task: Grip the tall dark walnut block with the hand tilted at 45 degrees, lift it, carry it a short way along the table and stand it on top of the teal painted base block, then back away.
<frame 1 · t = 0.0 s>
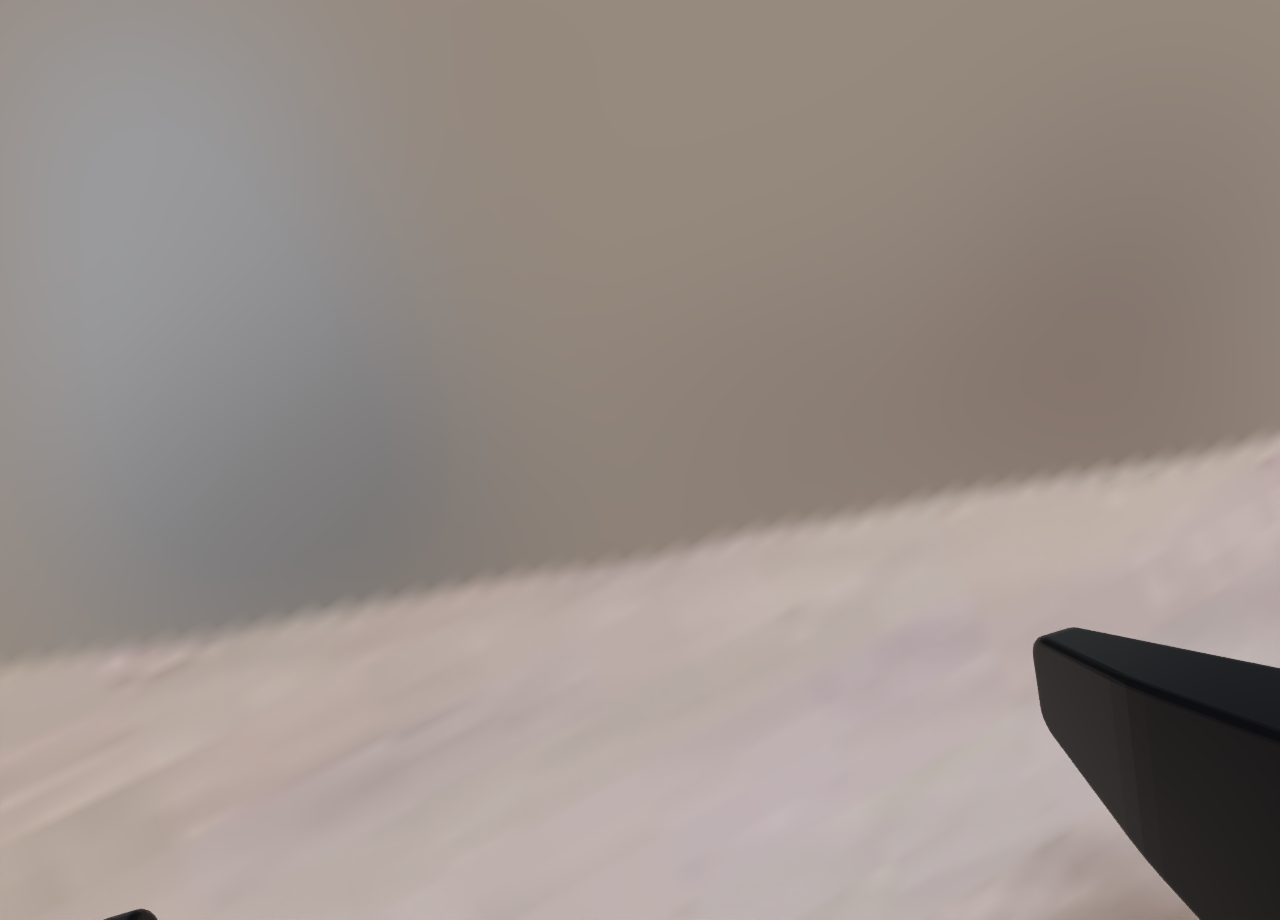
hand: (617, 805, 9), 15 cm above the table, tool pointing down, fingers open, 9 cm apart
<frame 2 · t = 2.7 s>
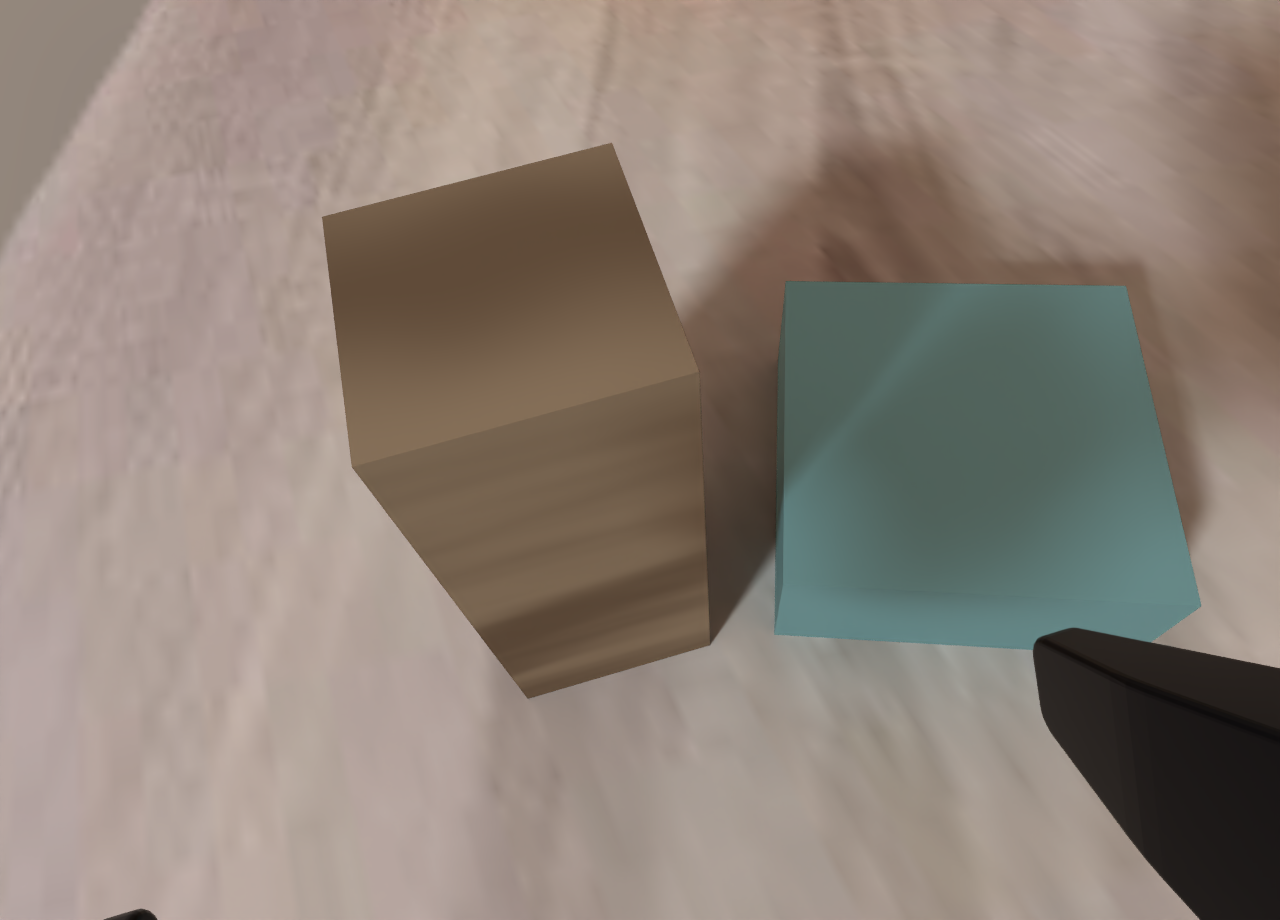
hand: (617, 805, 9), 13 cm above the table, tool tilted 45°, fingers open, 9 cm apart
walnut block: (597, 586, 24), on the table
teal base block: (933, 496, 25), on the table
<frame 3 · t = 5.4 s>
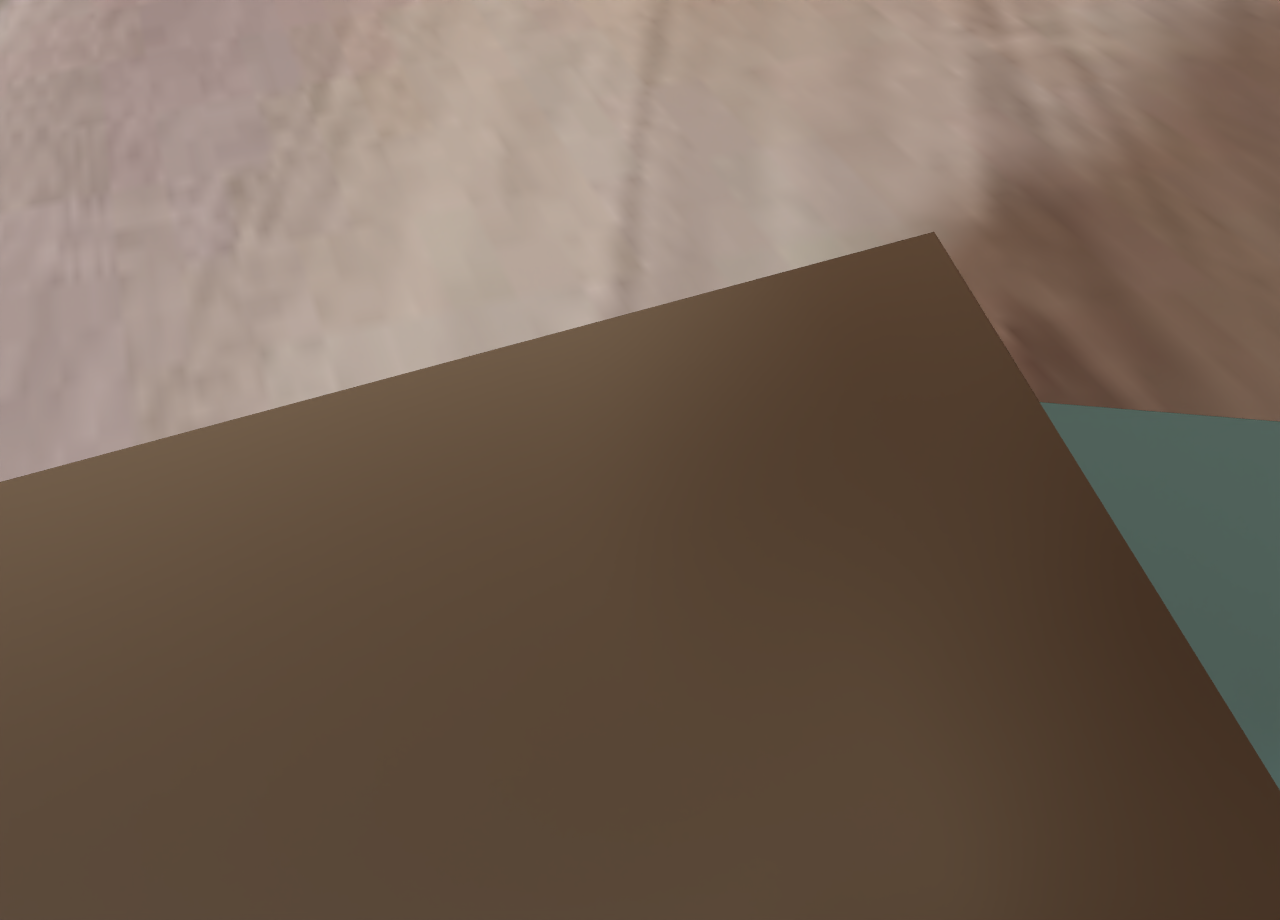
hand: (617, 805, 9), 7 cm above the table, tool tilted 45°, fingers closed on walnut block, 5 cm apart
teal base block: (1260, 781, 14), on the table
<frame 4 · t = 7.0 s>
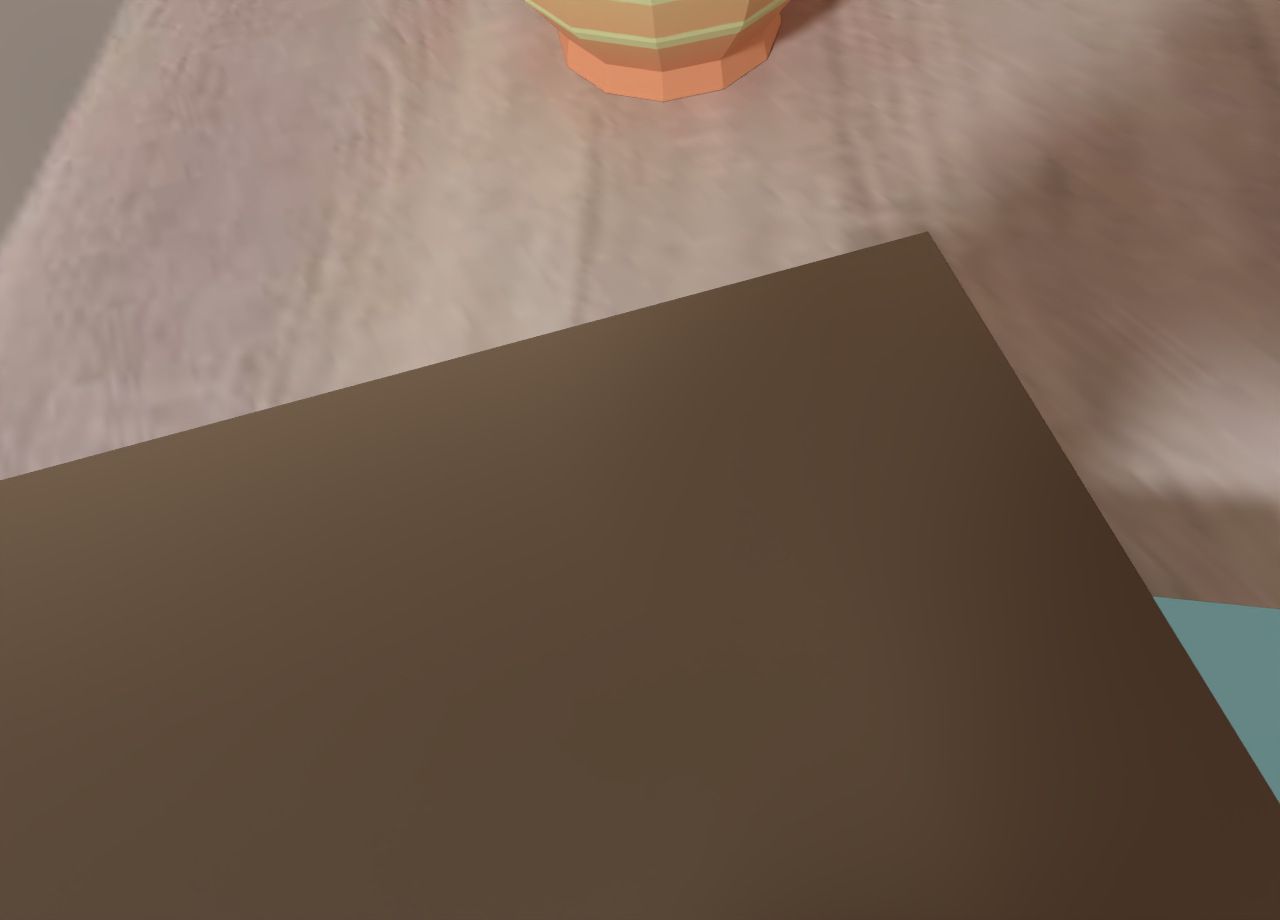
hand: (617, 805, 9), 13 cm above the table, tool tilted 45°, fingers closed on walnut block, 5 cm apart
potted cactus: (668, 30, 35), on the table
teal base block: (1037, 834, 20), on the table
when the fingers open (12 cm above the table, at t = 8.4 s): walnut block drops 1 cm, point 4 cm above the table.
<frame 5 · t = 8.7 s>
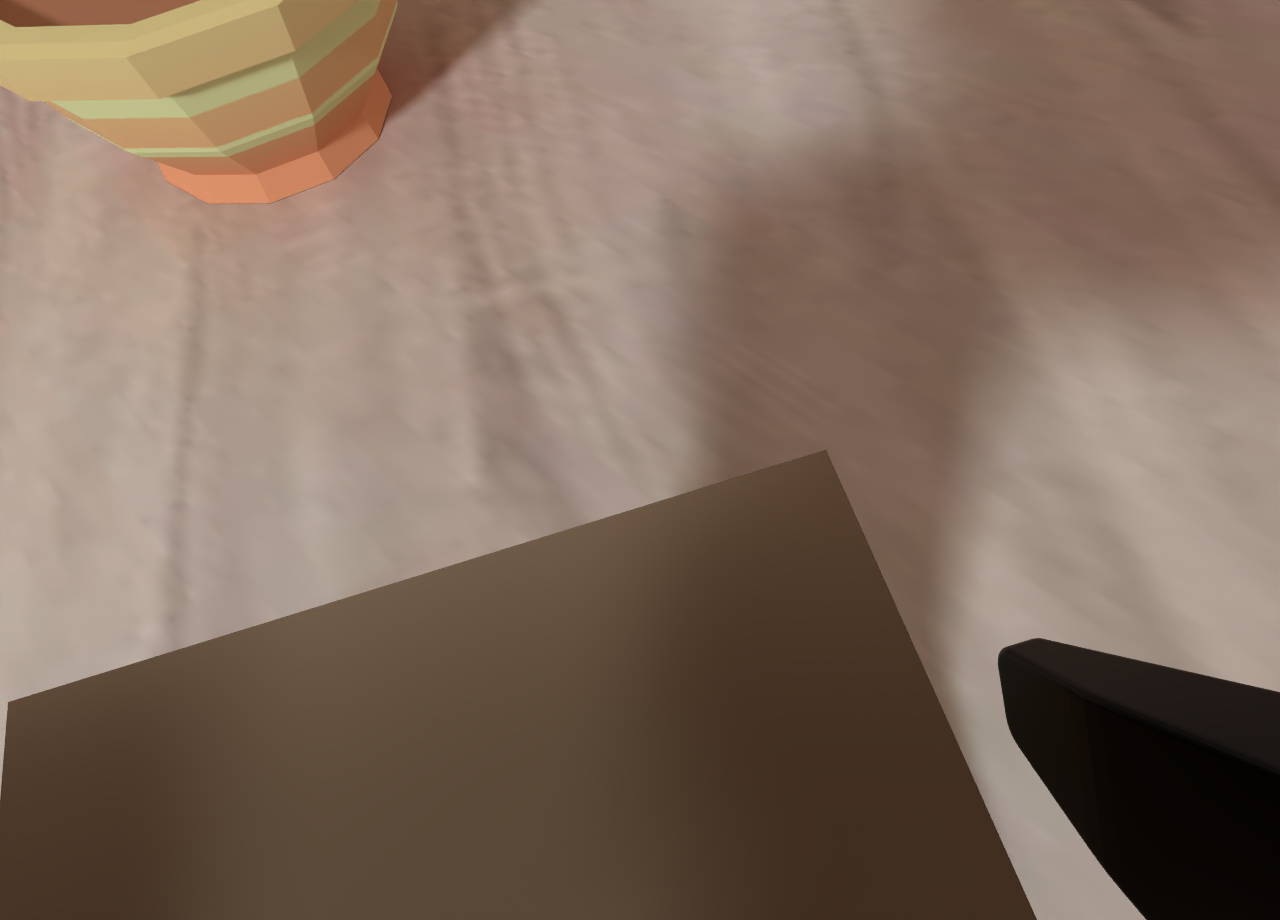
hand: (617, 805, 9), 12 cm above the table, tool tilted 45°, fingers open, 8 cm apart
potted cactus: (276, 123, 33), on the table
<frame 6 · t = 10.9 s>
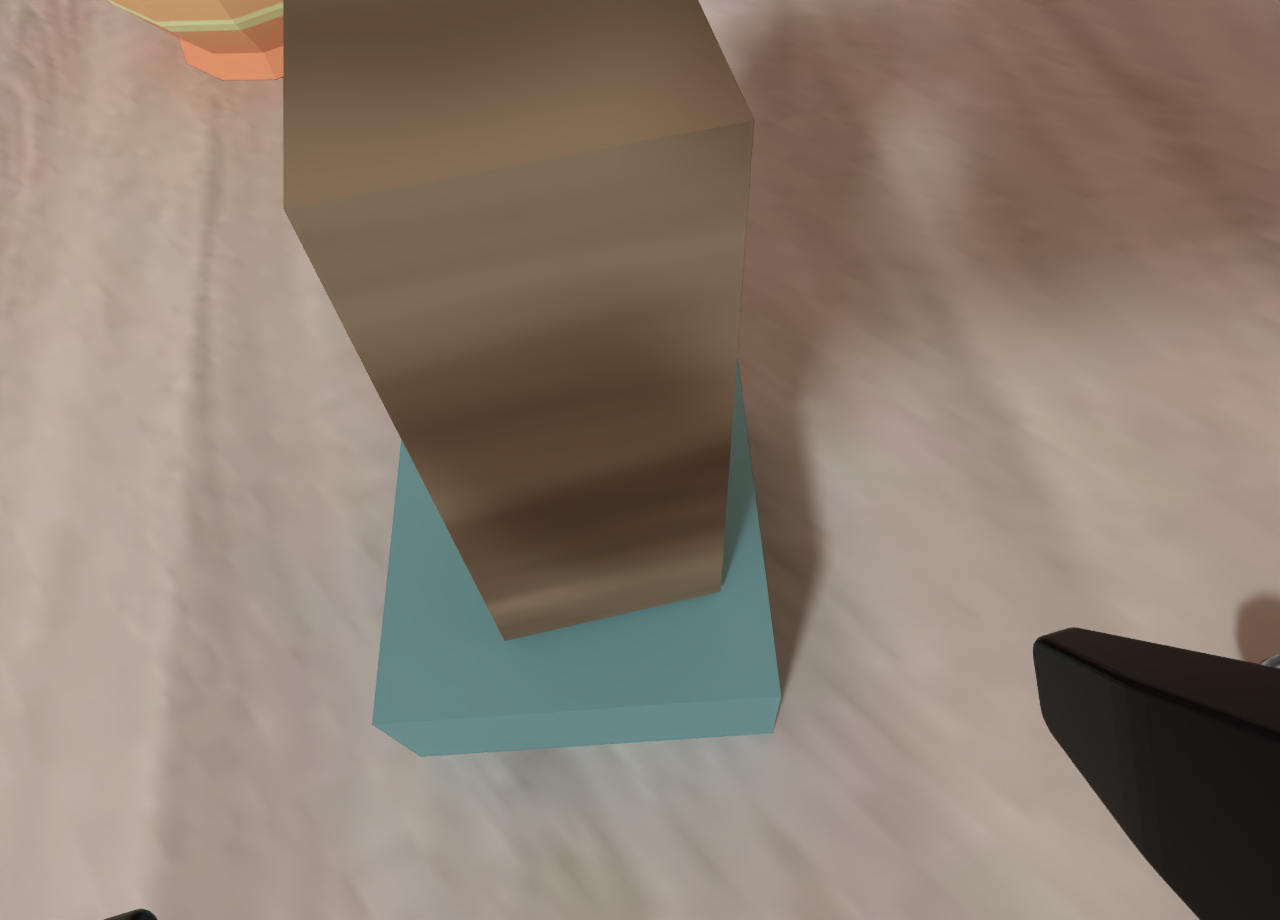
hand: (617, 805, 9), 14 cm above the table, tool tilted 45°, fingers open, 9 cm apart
potted cactus: (280, 19, 39), on the table
walnut block: (592, 521, 21), point 4 cm above the table, touching teal base block
teal base block: (593, 584, 25), on the table, touching walnut block
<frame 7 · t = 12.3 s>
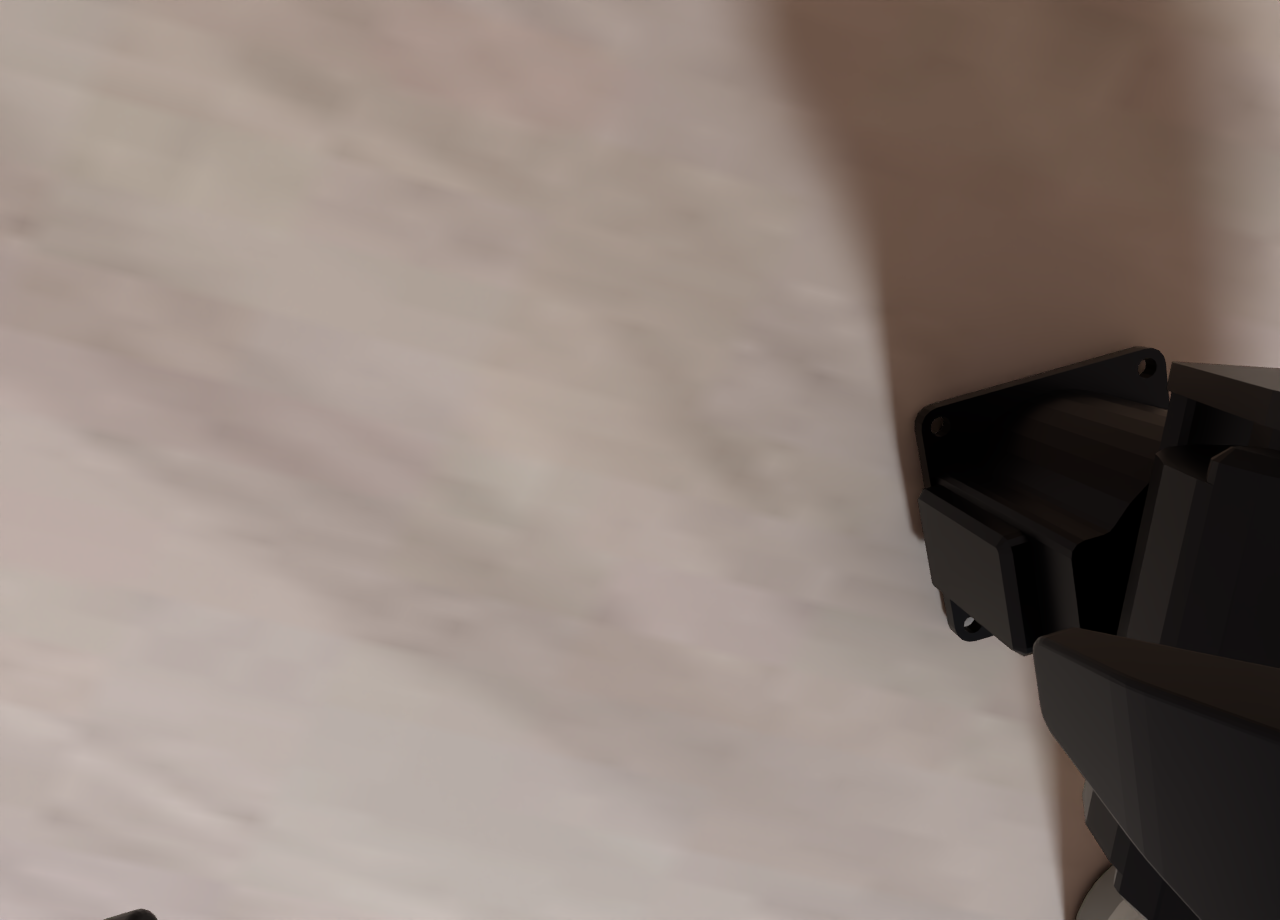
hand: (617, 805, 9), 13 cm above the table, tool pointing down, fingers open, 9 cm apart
travel mug: (1159, 917, 27), on the table
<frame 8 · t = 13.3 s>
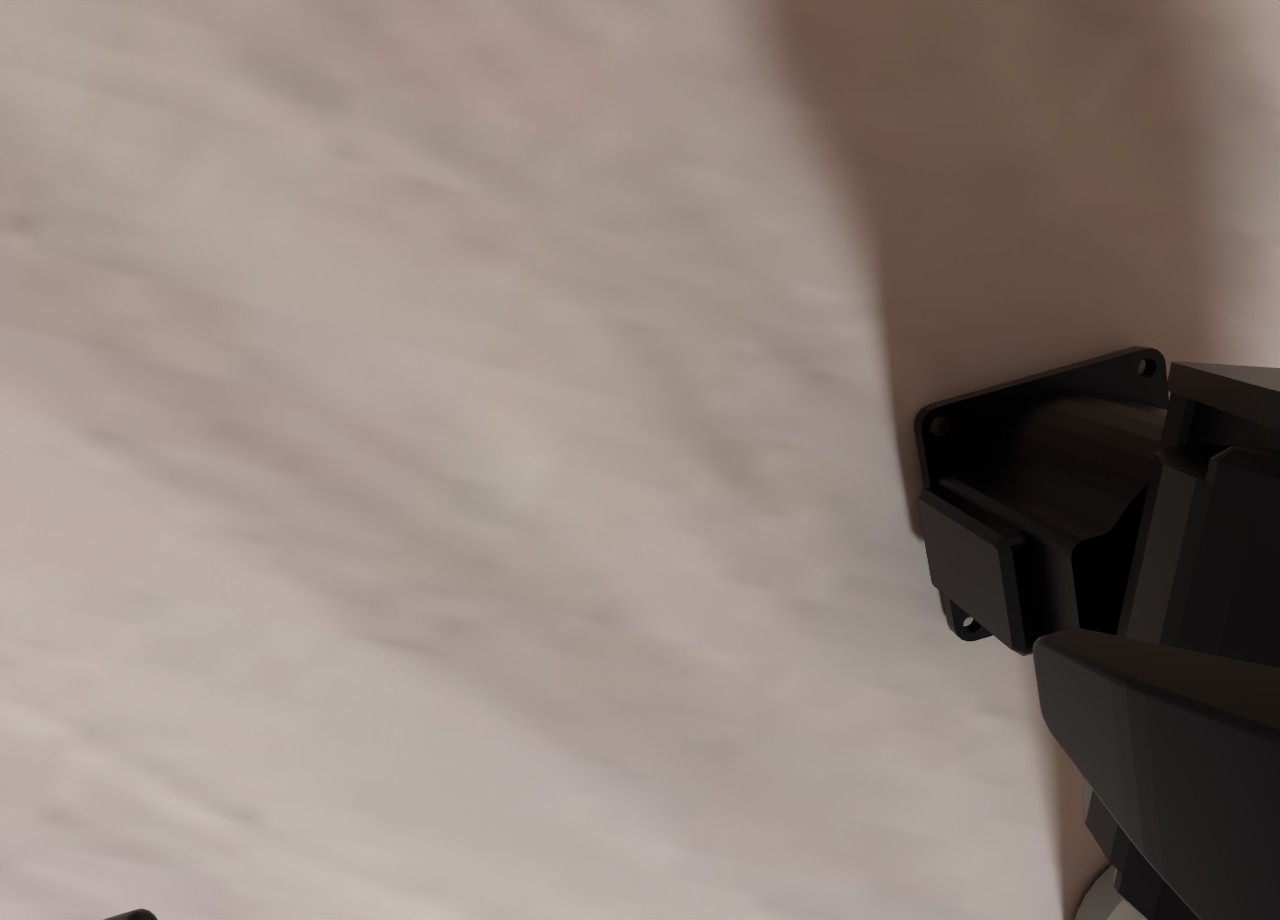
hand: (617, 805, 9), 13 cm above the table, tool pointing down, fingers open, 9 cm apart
travel mug: (1158, 917, 27), on the table
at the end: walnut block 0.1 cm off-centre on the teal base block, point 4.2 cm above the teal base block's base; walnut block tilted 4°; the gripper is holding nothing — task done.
